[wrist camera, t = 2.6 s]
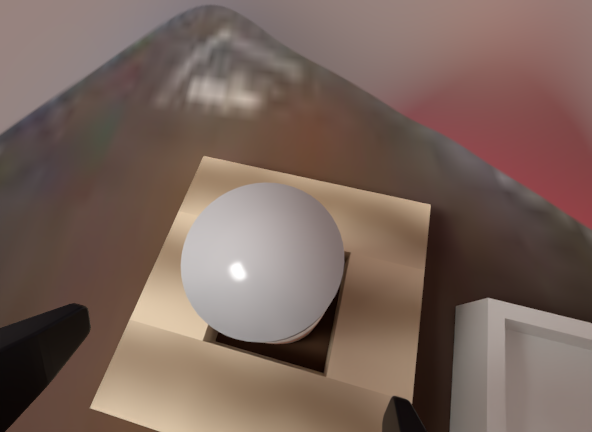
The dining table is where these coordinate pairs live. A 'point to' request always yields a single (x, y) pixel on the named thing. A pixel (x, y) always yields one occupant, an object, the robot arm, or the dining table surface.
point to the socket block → (264, 370)
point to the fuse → (263, 263)
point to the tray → (520, 370)
